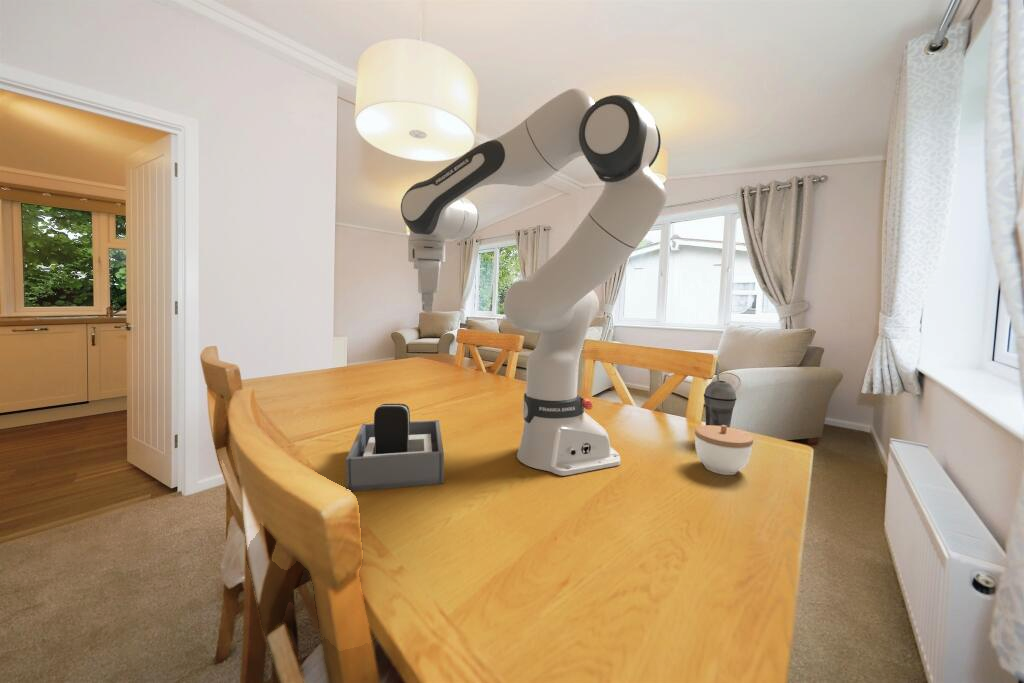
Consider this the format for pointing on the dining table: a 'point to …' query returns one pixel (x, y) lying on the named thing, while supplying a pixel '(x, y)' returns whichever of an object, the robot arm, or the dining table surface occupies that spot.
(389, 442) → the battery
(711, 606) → the dining table surface
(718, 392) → the beverage cup
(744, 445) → the lidded jar
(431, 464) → the socket box
